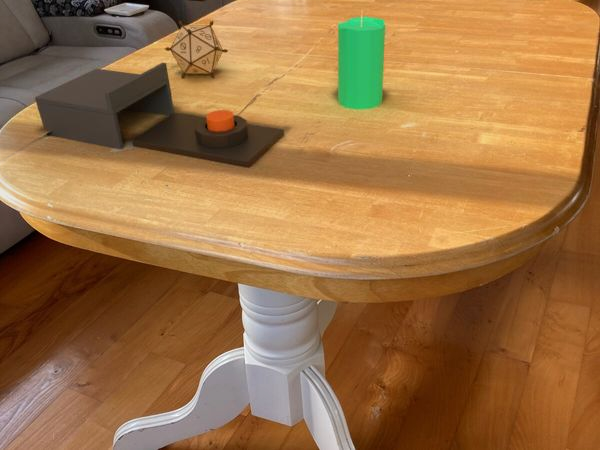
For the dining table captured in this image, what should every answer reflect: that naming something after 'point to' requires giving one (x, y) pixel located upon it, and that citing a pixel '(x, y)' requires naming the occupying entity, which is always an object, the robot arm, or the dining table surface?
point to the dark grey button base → (209, 139)
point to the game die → (196, 49)
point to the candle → (361, 62)
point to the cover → (103, 104)
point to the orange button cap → (220, 120)
